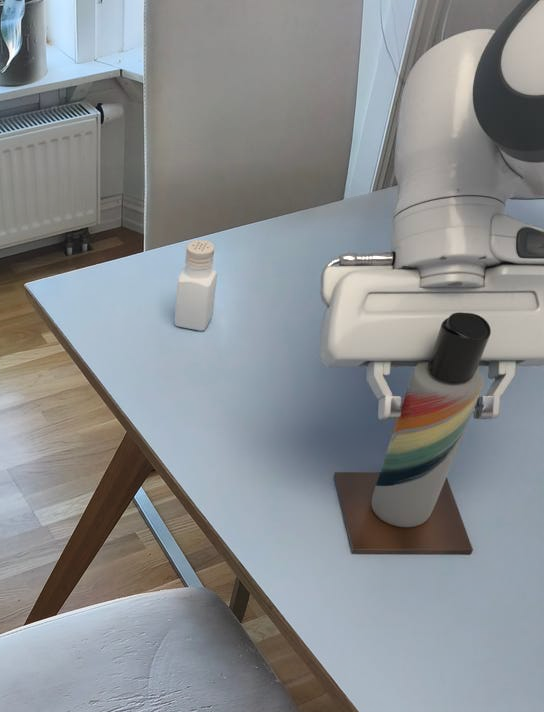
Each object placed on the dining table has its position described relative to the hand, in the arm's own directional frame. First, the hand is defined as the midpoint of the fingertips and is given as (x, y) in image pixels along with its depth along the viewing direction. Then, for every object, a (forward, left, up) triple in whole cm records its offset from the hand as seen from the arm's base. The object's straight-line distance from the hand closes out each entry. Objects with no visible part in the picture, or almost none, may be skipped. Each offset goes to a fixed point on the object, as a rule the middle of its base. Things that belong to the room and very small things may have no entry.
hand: (437, 418), depth 76 cm
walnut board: (0, -1, -12) cm, 12 cm away
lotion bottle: (0, -1, -11) cm, 11 cm away
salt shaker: (+18, -35, -12) cm, 41 cm away
